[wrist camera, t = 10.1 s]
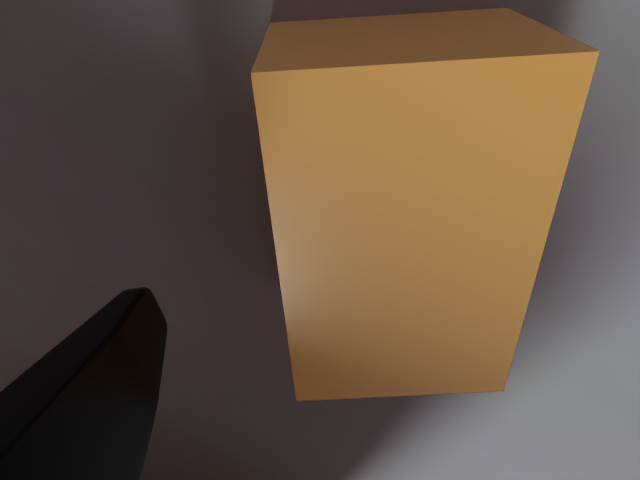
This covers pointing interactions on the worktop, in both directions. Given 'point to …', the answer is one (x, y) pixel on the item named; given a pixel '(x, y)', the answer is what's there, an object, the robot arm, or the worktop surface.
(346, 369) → the orange brick
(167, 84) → the worktop surface
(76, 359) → the robot arm
